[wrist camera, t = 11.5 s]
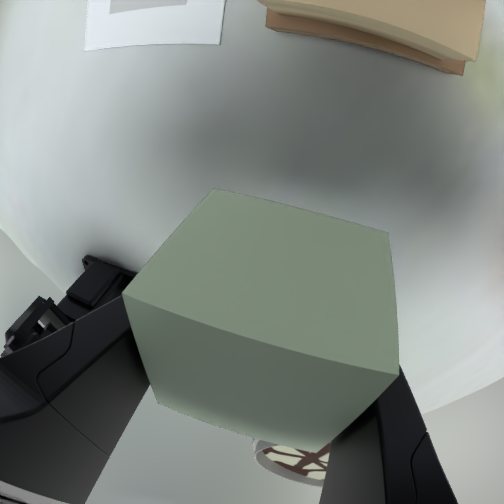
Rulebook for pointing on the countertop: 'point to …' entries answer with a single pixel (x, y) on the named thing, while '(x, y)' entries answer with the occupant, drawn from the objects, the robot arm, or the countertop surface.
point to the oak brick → (401, 21)
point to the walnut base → (358, 40)
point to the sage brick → (267, 320)
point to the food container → (293, 462)
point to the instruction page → (152, 22)
